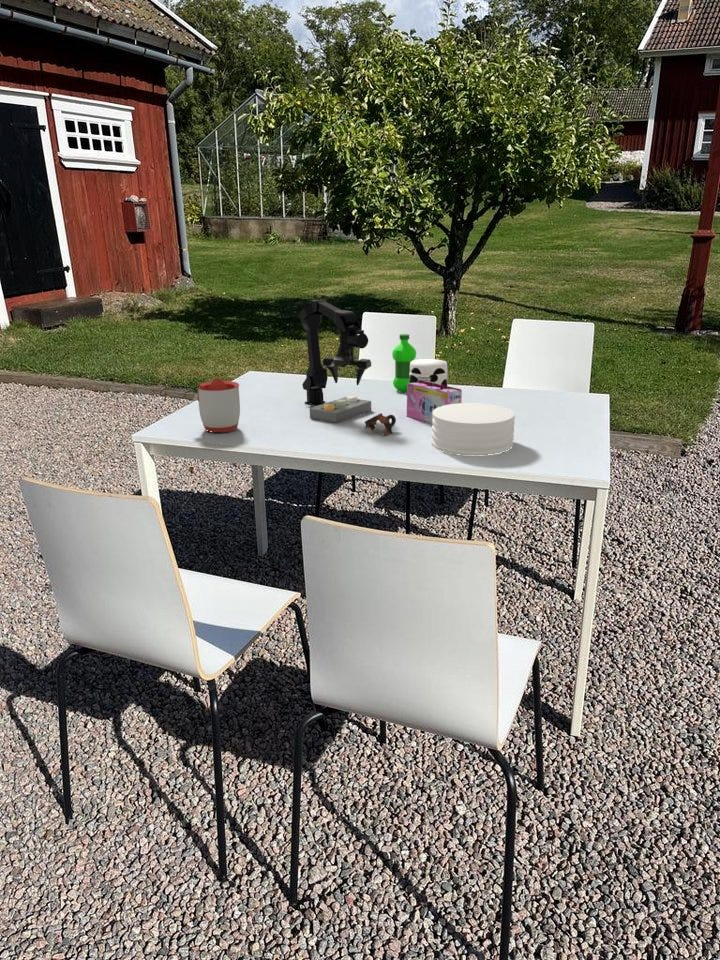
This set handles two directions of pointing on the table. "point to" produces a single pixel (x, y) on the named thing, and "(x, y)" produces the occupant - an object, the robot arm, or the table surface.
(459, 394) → the gum box
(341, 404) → the sage button
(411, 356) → the plastic bottle
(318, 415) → the button panel
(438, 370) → the milk container
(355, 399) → the cream button
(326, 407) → the amber button
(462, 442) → the plate stack
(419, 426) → the table surface
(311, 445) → the table surface
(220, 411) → the citrus juicer
